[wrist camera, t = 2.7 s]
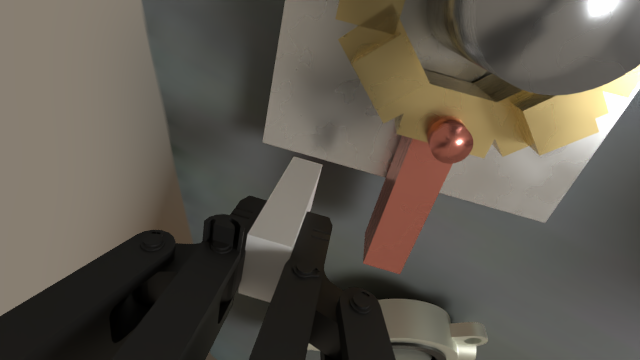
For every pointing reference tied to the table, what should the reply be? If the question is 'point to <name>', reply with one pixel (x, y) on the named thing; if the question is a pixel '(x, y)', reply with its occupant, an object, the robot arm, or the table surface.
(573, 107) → the yellow valve with lever
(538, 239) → the table surface
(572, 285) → the table surface
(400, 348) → the butterfly valve
